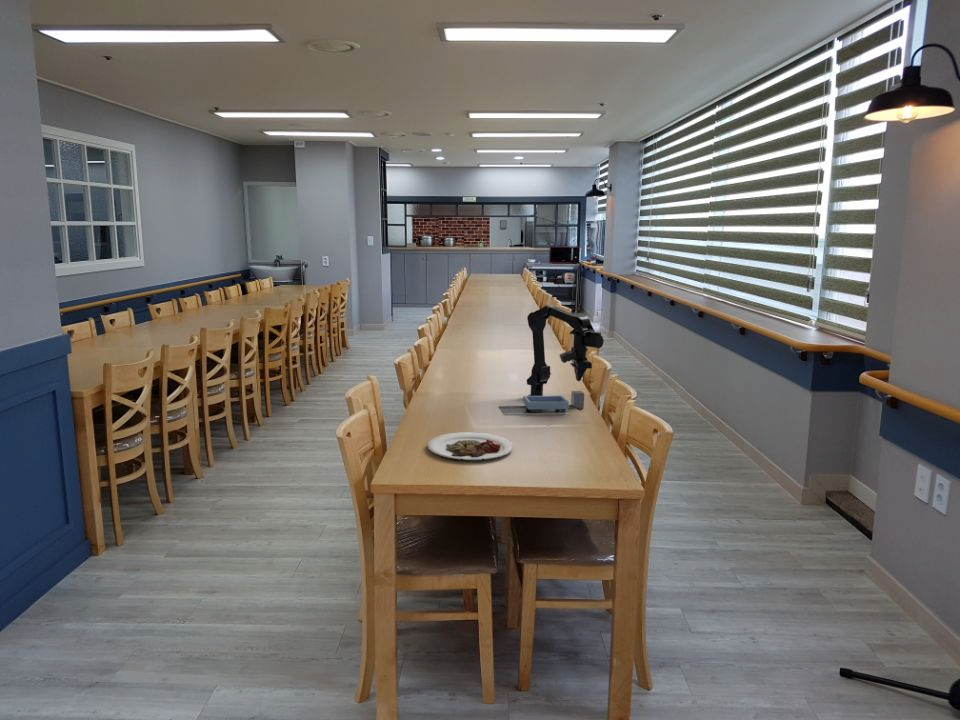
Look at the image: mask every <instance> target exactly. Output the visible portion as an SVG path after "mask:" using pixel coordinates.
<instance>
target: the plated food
mask: <svg viewBox="0 0 960 720" xmlns="http://www.w3.org/2000/svg"><path fill="white" fill-rule="evenodd" d="M427 448H428V450H429V451H431V452H432V453H433V454H436V455H437V456H441V457H444V458H449V459H456V460H461V459H463V461H479V460H481V461H482V459H484V460H491V459H496V458H500V457H504V456H505V455H509V453H511V452H512V451H513V449H514V445H513V443H512V441H510V440H508V439H507V438H506V437H502V436H500V435H496V434H491V433H485V432H473V431H471V432H470V431H464V432H463V431H462V432H461V431H460V432H451V433H445V434H441V435H437V436H435V437H433V438H431V439H430V440H428V441H427Z"/></svg>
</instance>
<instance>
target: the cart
mask: <svg viewBox="0 0 960 720" xmlns="http://www.w3.org/2000/svg"><path fill="white" fill-rule="evenodd" d="M522 399H523V402H522V403H523V405H525V406H526V407H527V408H528V409H530V412H531V413H535V409H560V411H561V412H566V411H567V410H569V408H570V407H569V405H570V402H569V401H568V399H566V398H565V397H564V396H563V395H543V396H528V395H523V398H522Z"/></svg>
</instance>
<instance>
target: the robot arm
mask: <svg viewBox="0 0 960 720" xmlns="http://www.w3.org/2000/svg"><path fill="white" fill-rule="evenodd" d="M550 317H553V318H555V319H558V320H560V321H562V322H564V323H567V324H568V325H569V327H570V328H572V330H571V331H570V332H569V334H570V335H573V341H572V342H573V343H572V345H573V346H571V347H570V350H567V351H566V352H562V353H560V354H559V358H560V361H561V362H562V363H563V364H565V363H567V362H570V361H571V362H570V363H569V364H570V365H571V367H573V370H574V375H575V379H576V381H577V382H581V380H582V378H583V376H584V374H585V373H586V371H587V369H592V368H593V364H592V362H591V361H590V360H588V357H587V352H588V350H589V349H588V348H593V349H597V350H598V349H601V348H602V347H603V345H604V343H605V341H604V337H603V335H602V333H601V332H600V331H597V332H596V331H595V329H594V327H593V325H592V322H591V320H590V317H588V316H587V315H582V314H575V313H572V312H569V311H566V310H564V309H562V308H559V307H557V306H555V305H553V304H549V305H548V304H547V305H545V306H542V307H541V308H539V309H537V310H535V311H532V312H530V313H528V315H527V323H528V325H527V326H528V327H529V329H530V330H531V333H532V345H533V346H532V347H533V349H532V350H533V360H534V361H533V362H534V364H533V365H532V368H531V373H530V374H531V375H529V377H528V378H527V379H526V385H528V386H530V391H529V392H530V393H529V394H528V395H527V396H544V385H547V383H548V381H549V380H550V378H551V377H550V376H551V375H552V372H551V366H550V365H548V364H547V363H546V356H545V355H546V354H545V341H544V340H545V339H544V337H545V336H544V330H545V327H546V325H547V319H549V318H550Z"/></svg>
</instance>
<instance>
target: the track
mask: <svg viewBox="0 0 960 720" xmlns="http://www.w3.org/2000/svg"><path fill="white" fill-rule="evenodd" d="M498 409H499V410H500V412H501V413H502V415H503V416H537V415H538V416H539V415H541V416H543V415H545V416H546V415H549V416H550V415H551V416H552V415H553V416H554V415H568V414H569V413H568V411H567V412H566V411H565V412H561V411H560V409H535V413H531V412H530V409H528V408H527V407H526V406H525V404H523V405H498Z"/></svg>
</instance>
